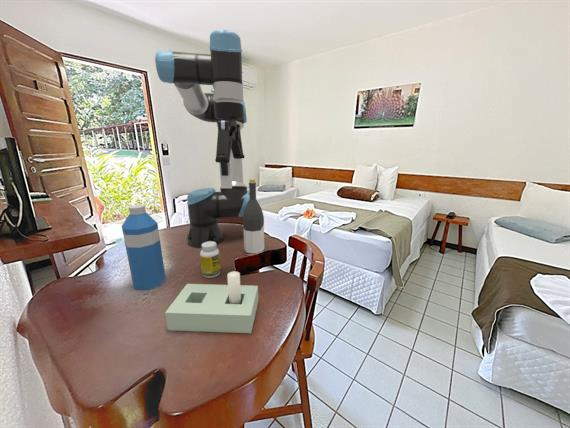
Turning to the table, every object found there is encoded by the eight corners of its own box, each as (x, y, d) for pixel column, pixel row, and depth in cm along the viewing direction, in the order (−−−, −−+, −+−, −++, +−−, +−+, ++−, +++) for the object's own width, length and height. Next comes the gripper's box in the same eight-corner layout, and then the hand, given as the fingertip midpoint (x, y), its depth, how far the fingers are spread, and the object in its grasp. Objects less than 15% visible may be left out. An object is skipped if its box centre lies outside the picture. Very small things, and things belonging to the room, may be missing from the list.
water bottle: (172, 278, 80) (161, 204, 73) (146, 293, 72) (131, 212, 64) (152, 271, 84) (141, 201, 76) (125, 286, 75) (109, 208, 68)
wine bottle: (245, 248, 102) (242, 177, 94) (264, 248, 103) (263, 177, 94) (243, 257, 95) (239, 180, 86) (263, 257, 95) (262, 180, 86)
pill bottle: (215, 279, 79) (213, 248, 76) (198, 277, 80) (195, 247, 77) (224, 270, 85) (221, 241, 82) (207, 268, 86) (204, 239, 83)
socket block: (188, 299, 69) (186, 283, 68) (258, 301, 69) (258, 285, 67) (167, 330, 58) (165, 312, 57) (251, 333, 57) (250, 315, 56)
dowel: (231, 311, 65) (229, 271, 61) (242, 311, 65) (240, 271, 61) (228, 319, 62) (225, 277, 58) (240, 319, 62) (238, 277, 58)
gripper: (227, 108, 75) (230, 177, 82) (196, 94, 52) (204, 192, 58) (251, 109, 75) (253, 177, 81) (231, 94, 51) (236, 192, 57)
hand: (233, 183), depth 70 cm, fingers open, 13 cm apart
